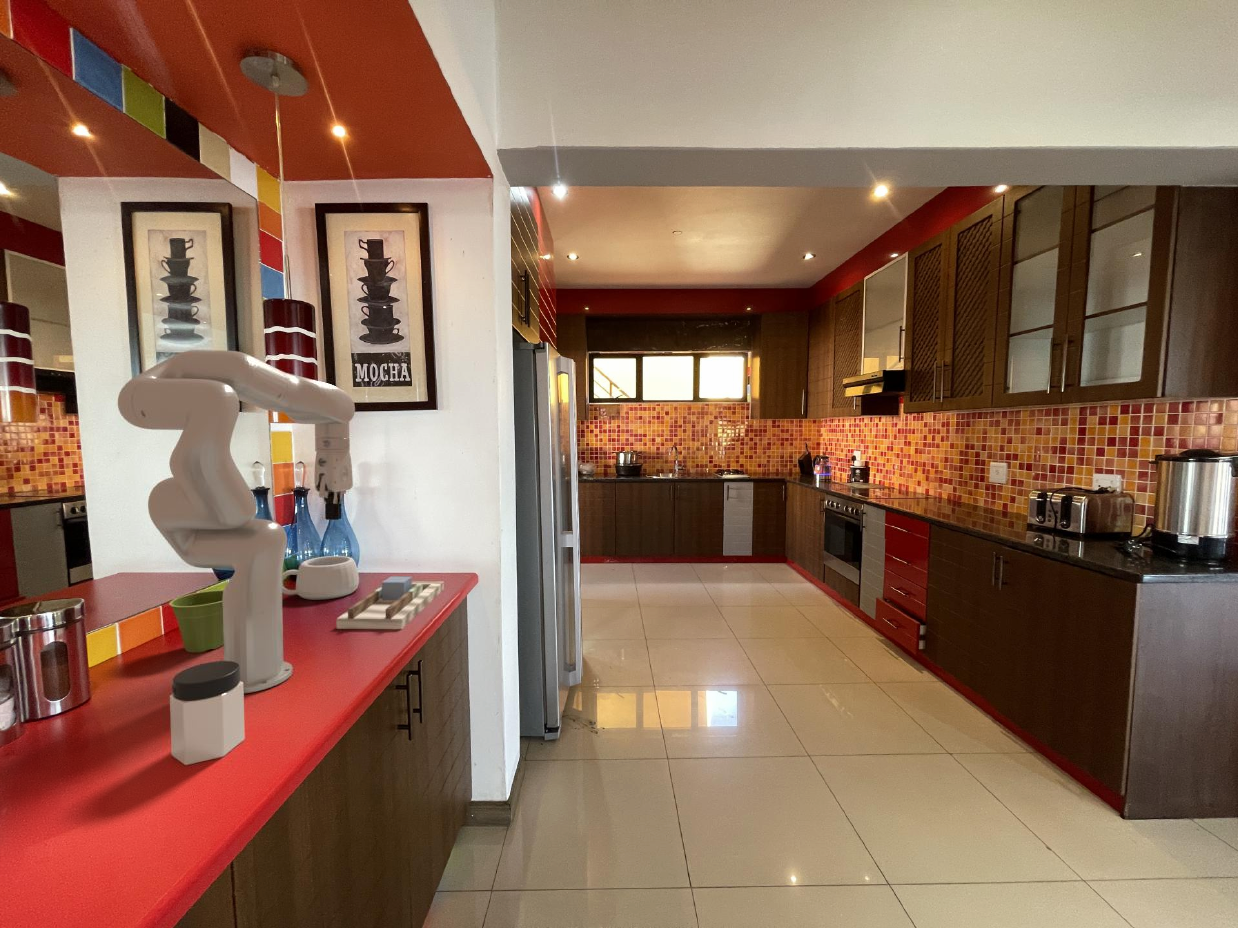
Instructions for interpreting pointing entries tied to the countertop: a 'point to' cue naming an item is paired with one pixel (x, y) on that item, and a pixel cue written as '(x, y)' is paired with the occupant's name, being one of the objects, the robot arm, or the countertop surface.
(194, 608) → the plant pot
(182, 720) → the jar
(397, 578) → the slate block
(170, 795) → the countertop surface
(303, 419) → the robot arm
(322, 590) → the mug
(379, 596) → the tunnel board
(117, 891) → the countertop surface
